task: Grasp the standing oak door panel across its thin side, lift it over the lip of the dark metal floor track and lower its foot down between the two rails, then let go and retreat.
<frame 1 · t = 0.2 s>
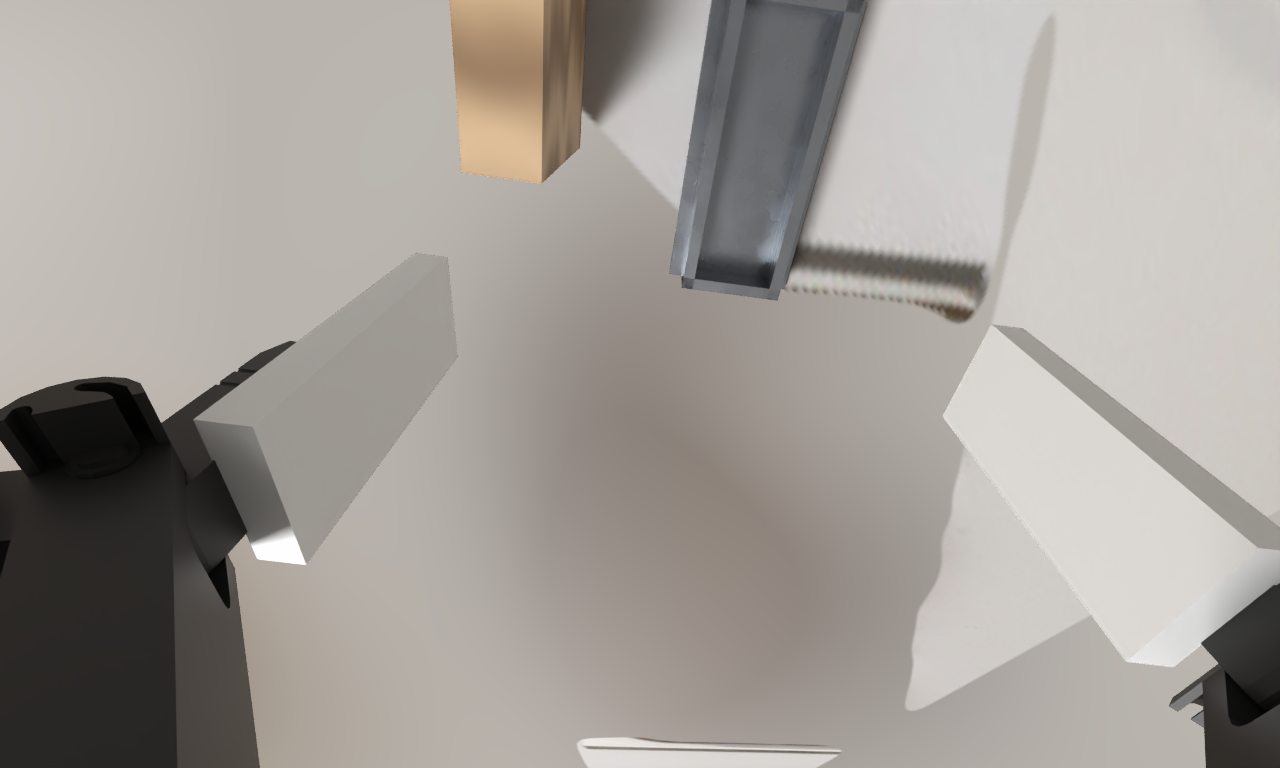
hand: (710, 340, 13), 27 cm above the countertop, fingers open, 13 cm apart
track: (753, 155, 35), on the countertop
panel: (553, 40, 32), on the countertop
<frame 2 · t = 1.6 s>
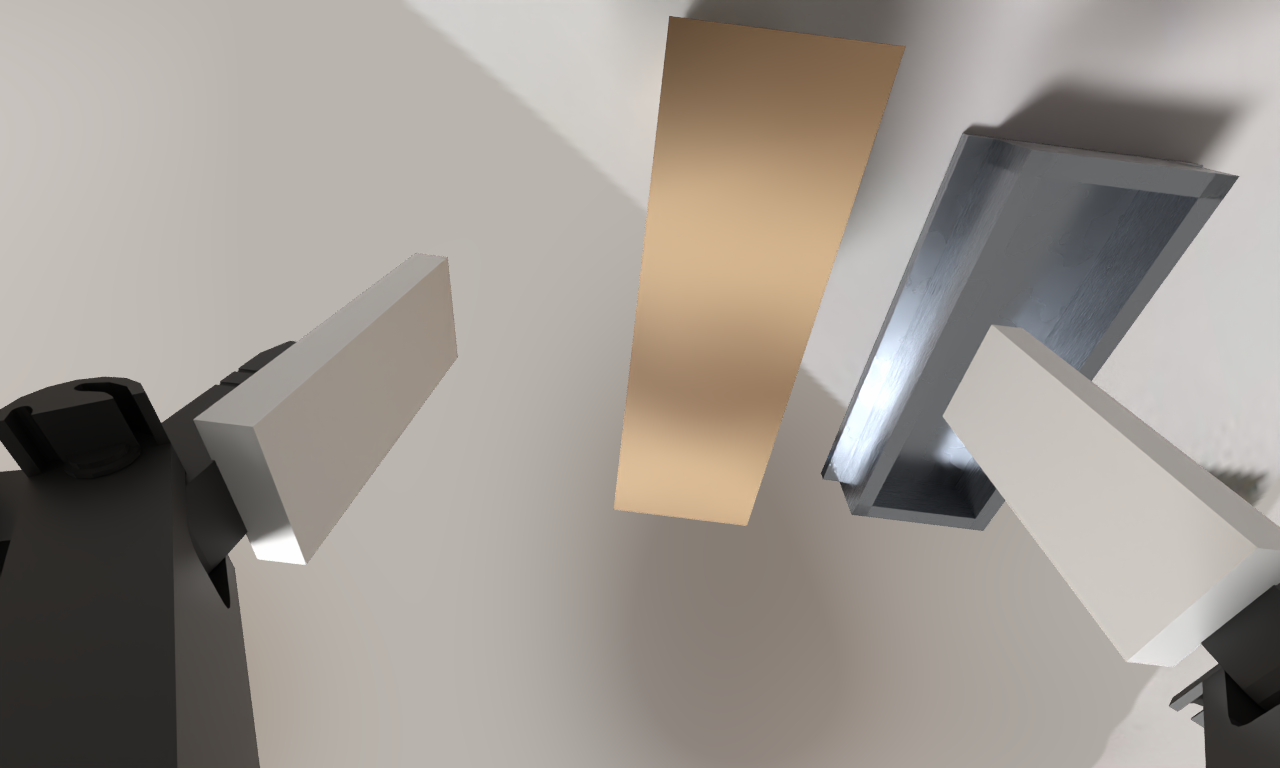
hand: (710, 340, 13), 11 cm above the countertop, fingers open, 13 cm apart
track: (969, 349, 25), on the countertop
panel: (700, 207, 22), on the countertop
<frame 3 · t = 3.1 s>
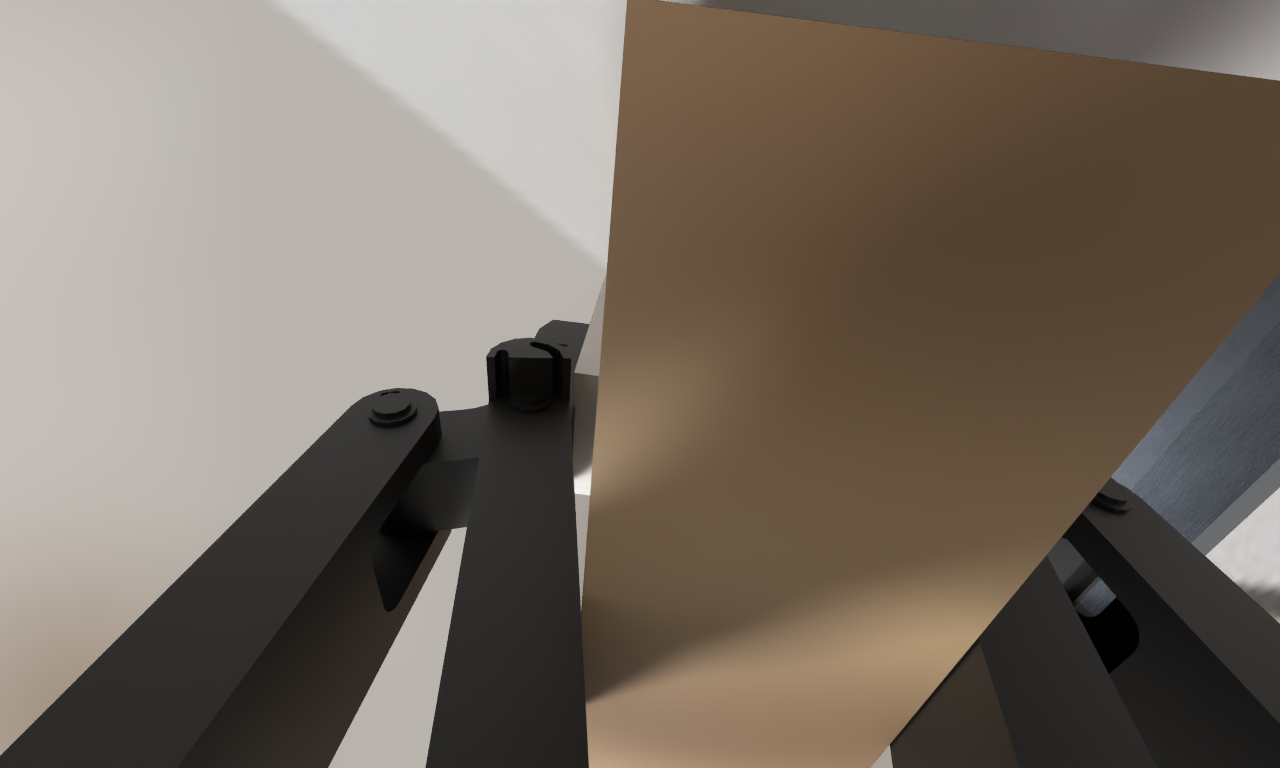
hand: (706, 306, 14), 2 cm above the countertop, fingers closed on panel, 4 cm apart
track: (1057, 459, 19), on the countertop
panel: (703, 284, 16), on the countertop, touching gripper
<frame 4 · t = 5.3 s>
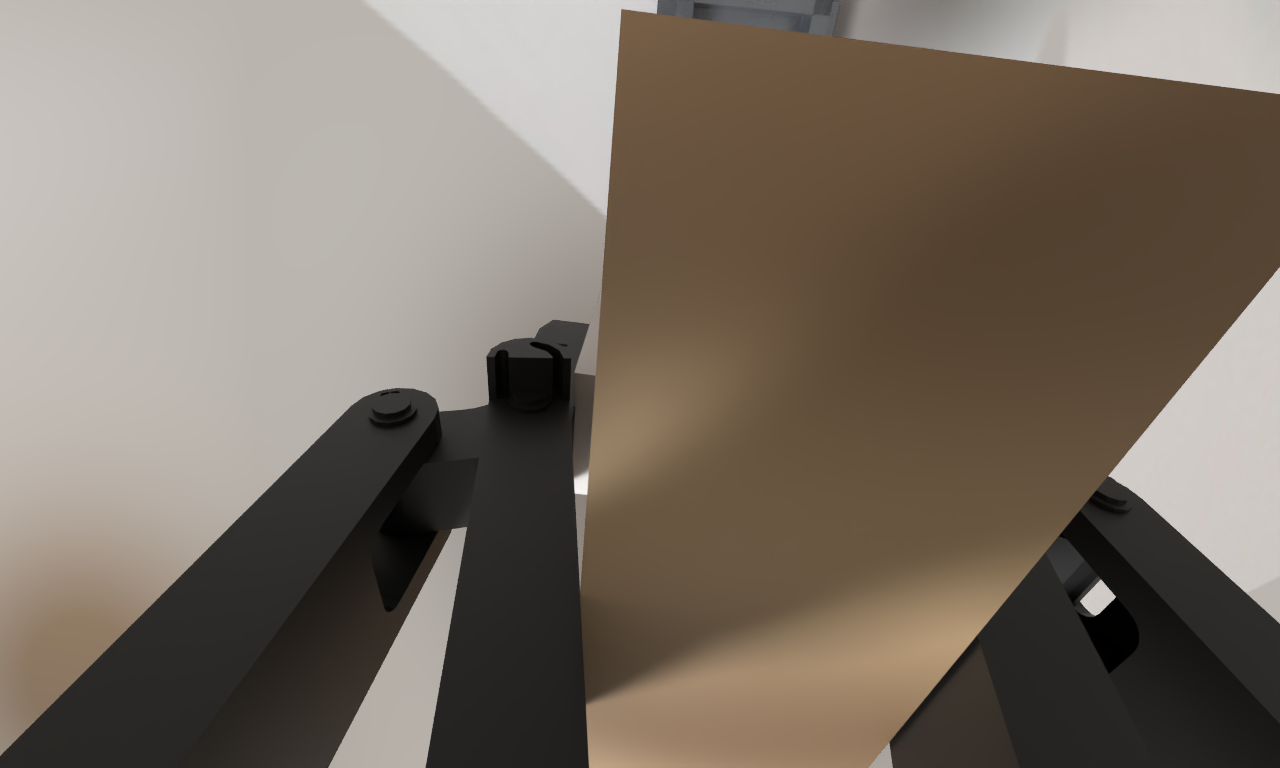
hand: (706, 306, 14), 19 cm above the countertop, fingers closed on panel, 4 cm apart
track: (718, 181, 30), on the countertop
panel: (702, 285, 16), point 17 cm above the countertop, touching gripper
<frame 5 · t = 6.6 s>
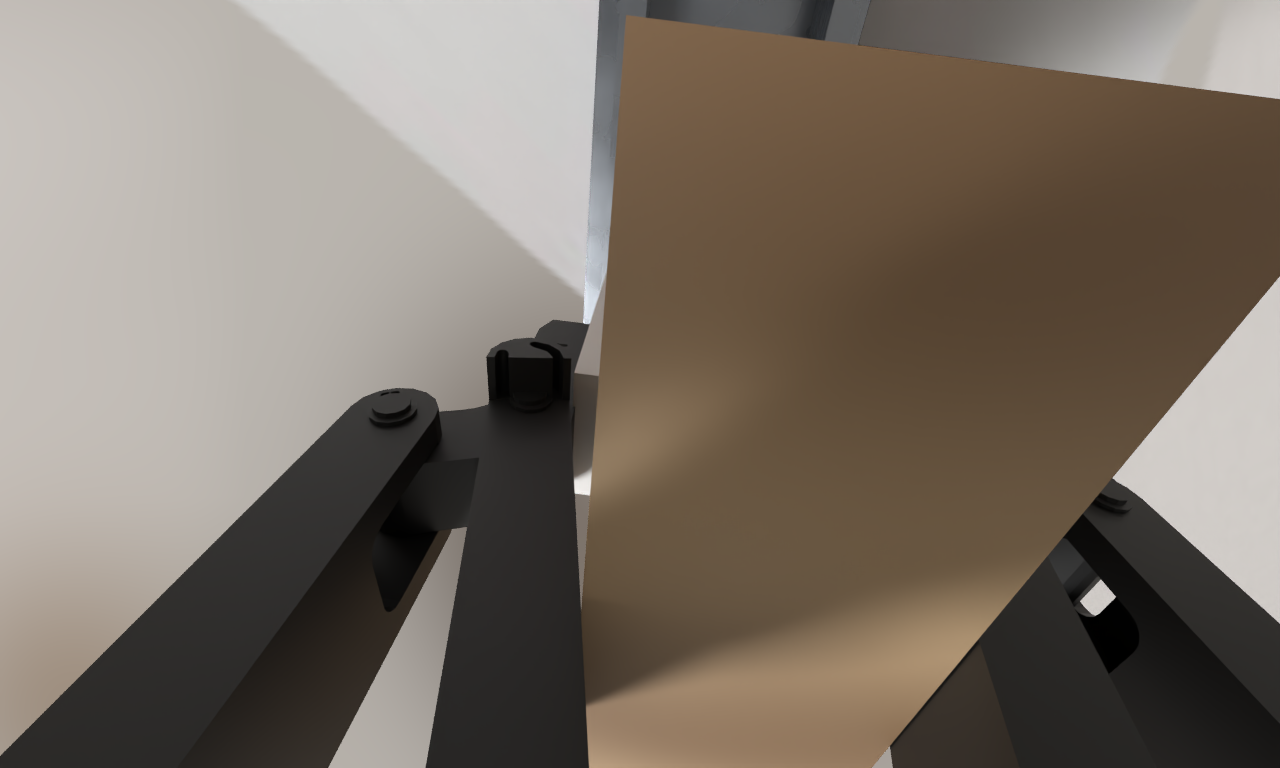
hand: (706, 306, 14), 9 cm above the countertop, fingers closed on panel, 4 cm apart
track: (696, 218, 22), on the countertop
panel: (703, 286, 16), point 7 cm above the countertop, touching gripper
when the fingers open (4 cm above the countertop, at t = 7.7 s): panel drops 2 cm, resting on track.
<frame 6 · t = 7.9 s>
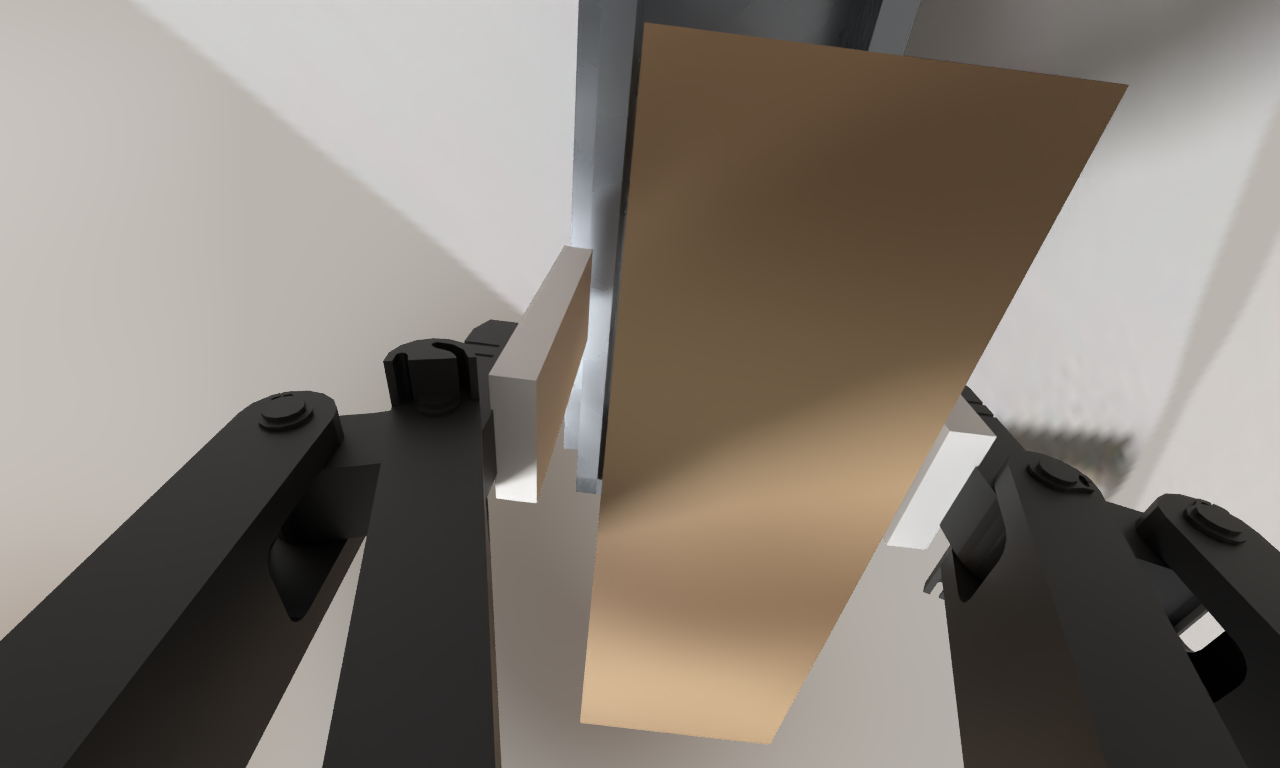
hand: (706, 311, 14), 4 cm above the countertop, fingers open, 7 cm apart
track: (700, 258, 18), on the countertop
panel: (700, 263, 17), resting on track
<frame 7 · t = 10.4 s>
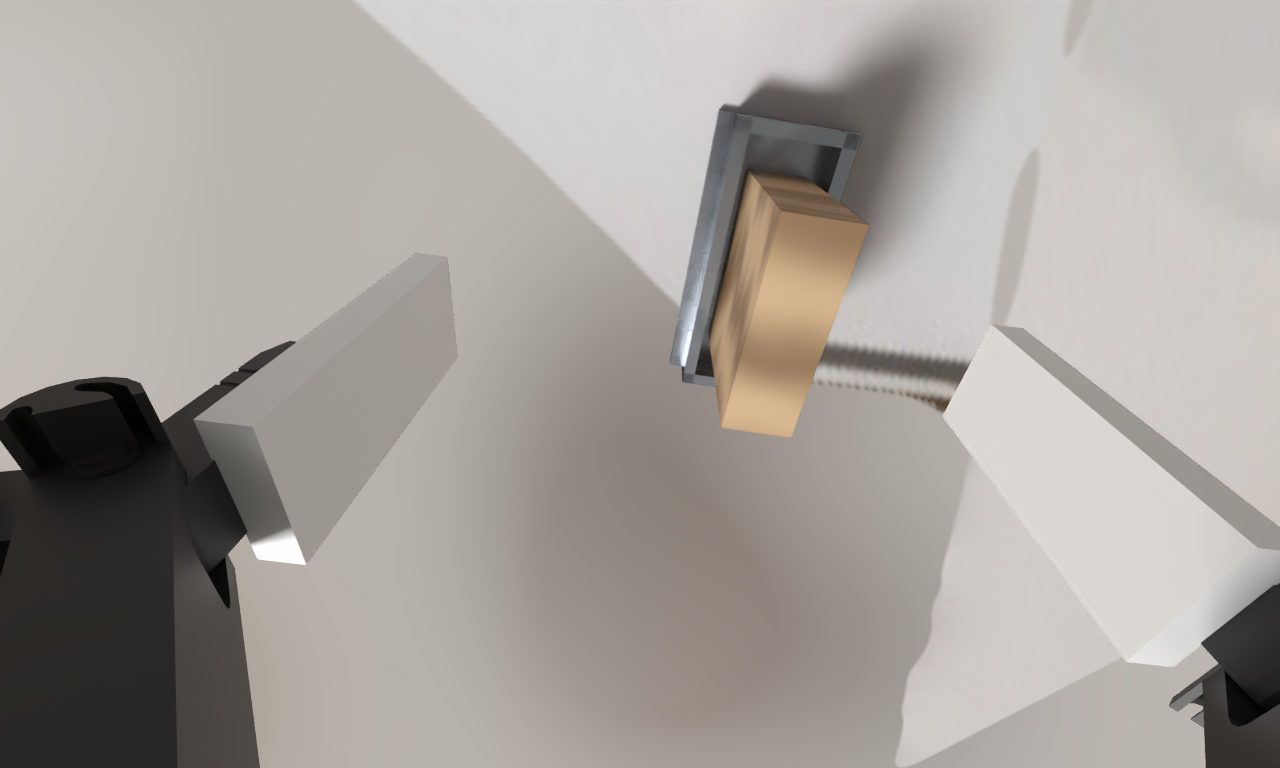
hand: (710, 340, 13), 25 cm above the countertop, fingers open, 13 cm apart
track: (753, 261, 36), on the countertop
panel: (753, 263, 36), resting on track
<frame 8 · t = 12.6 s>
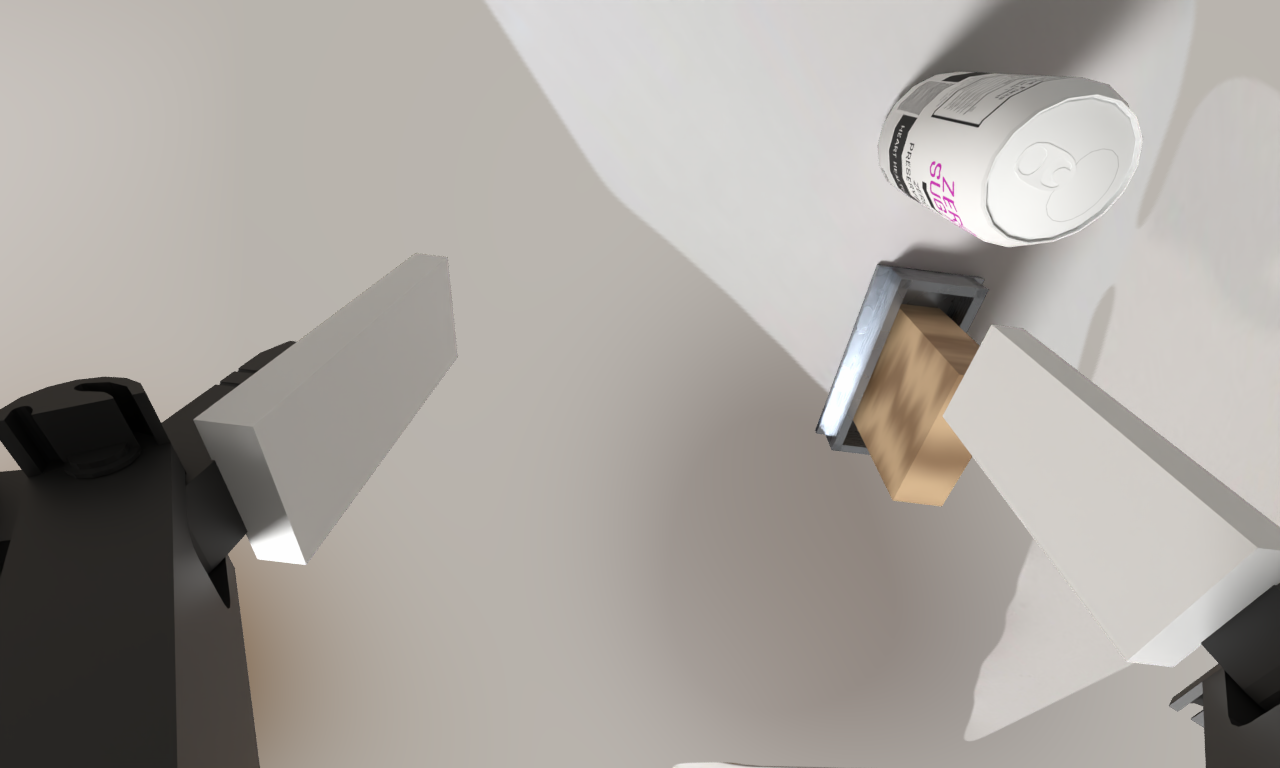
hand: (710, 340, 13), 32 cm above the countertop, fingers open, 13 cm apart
track: (890, 361, 48), on the countertop
supplement can: (930, 135, 38), on the countertop
panel: (891, 364, 48), resting on track
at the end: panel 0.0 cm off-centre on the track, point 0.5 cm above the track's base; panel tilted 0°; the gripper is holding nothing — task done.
